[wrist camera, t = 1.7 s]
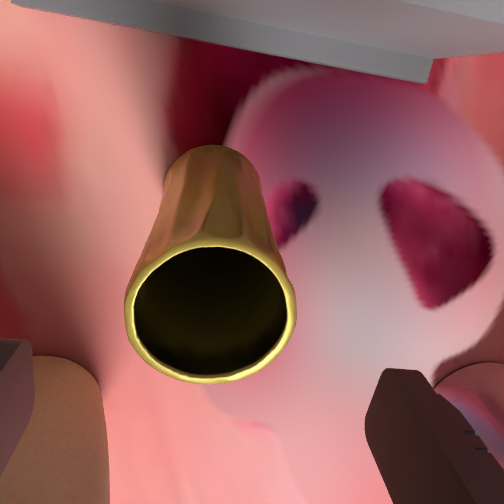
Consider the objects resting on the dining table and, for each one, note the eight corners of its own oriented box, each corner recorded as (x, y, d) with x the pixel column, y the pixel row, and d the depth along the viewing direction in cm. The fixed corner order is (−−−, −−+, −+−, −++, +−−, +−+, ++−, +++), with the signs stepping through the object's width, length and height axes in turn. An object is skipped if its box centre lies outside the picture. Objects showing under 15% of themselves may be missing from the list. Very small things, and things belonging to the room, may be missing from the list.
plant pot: (-93, 408, 29) (-396, 732, 15) (12, 271, 26) (-251, 521, 11) (82, 487, 34) (-16, 789, 20) (191, 382, 31) (170, 655, 16)
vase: (146, 206, 25) (70, 346, 12) (197, 122, 23) (176, 178, 10) (226, 254, 27) (238, 422, 14) (280, 180, 25) (353, 291, 12)
